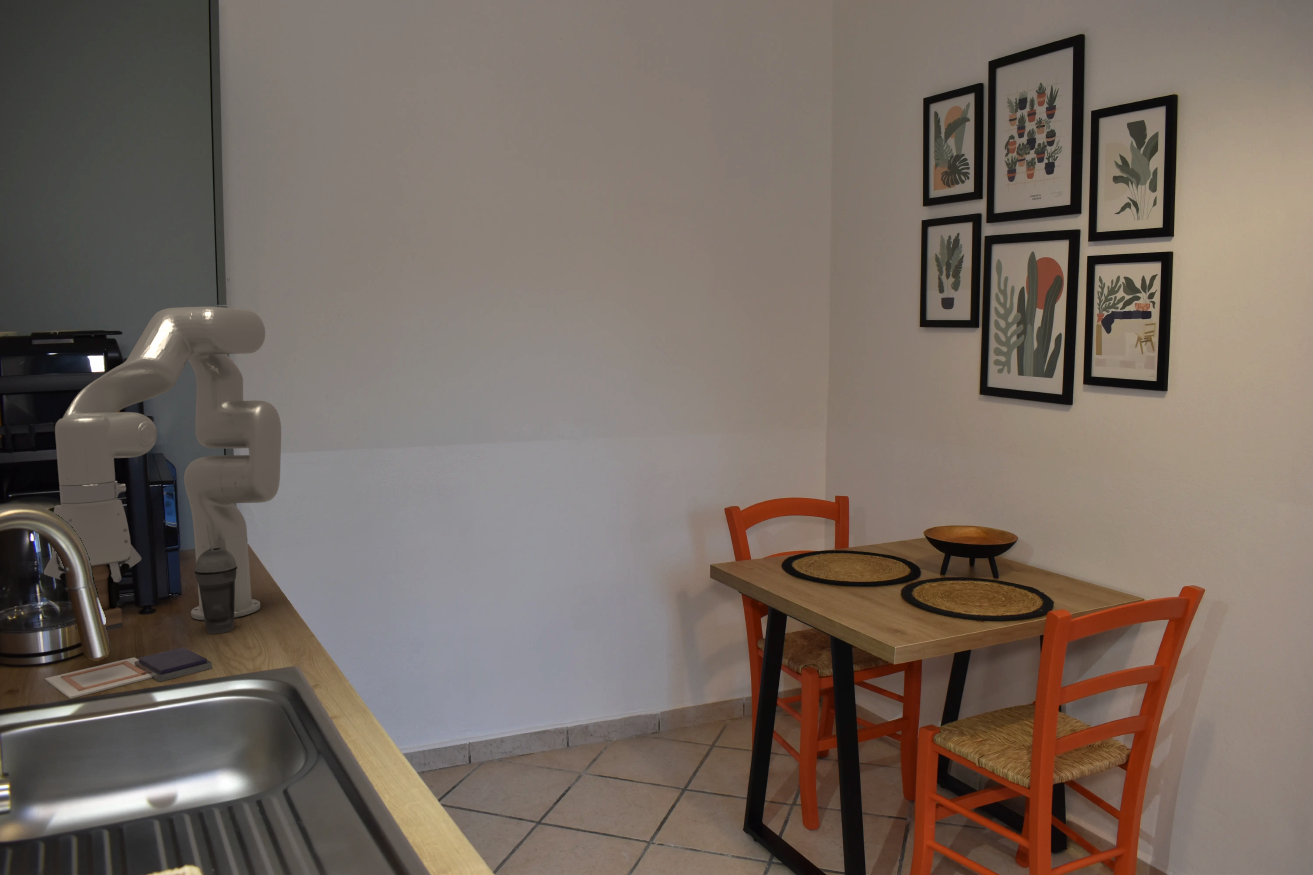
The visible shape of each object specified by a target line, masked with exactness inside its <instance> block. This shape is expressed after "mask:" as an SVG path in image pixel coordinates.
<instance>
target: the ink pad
mask: <svg viewBox="0 0 1313 875" xmlns="http://www.w3.org/2000/svg"><path fill="white" fill-rule="evenodd" d="M138 660H139V661H135V666H136V667H138V668H140V669H141V670H143V671H145V672H147V673H148V674H150V675H152V677H153V678H152V679H154V680H155V681H157V682H159V683H161V682H164V681H168V680H172V679H177V678H181V677H183V676H188V675H191V674H196V673H199V672H202V671H203V672H204V671H208V670H210V669H211V670H212V669H213V664H212V662H211V661H210V660H208V659H207V658H206V657H205V656H202V655H199V654H197V653H196V652H194V651H192V650H190V649H188V648H186V647H183V646H182V647H179V648H174V649H169V650H166V651H162V652H161V651H160V652H158V653H153V654H149V655H145V656H141V657H140V656H139V657H138Z"/></svg>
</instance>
